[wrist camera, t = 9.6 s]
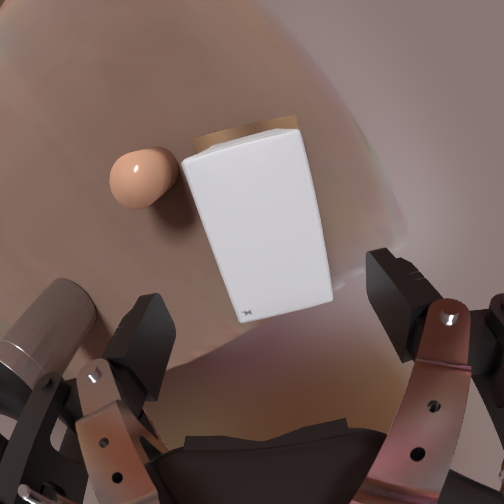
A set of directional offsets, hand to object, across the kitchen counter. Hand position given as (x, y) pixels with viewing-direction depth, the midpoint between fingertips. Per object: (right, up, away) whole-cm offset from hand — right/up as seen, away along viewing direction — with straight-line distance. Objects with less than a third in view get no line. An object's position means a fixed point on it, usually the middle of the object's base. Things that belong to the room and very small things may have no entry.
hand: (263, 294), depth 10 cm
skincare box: (0, +7, +14) cm, 16 cm away
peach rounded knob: (-10, +10, +17) cm, 22 cm away
